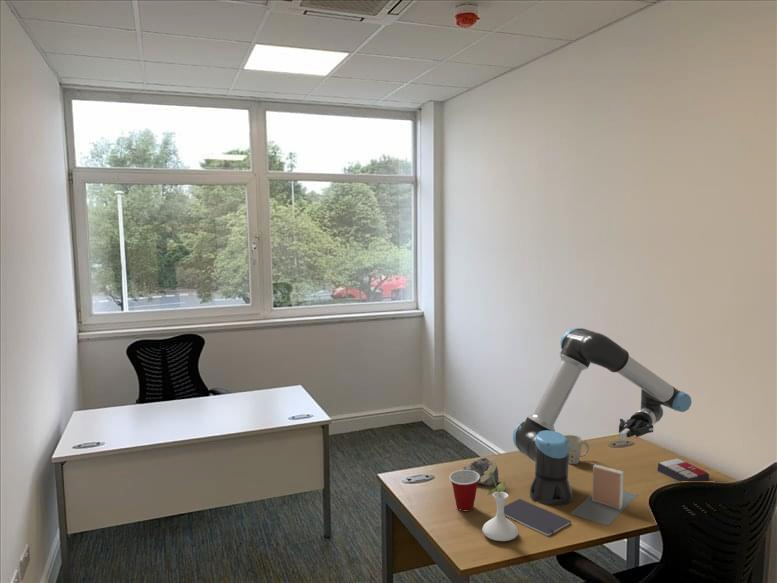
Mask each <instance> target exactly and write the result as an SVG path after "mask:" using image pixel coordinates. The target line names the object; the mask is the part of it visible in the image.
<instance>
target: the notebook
mask: <svg viewBox="0 0 777 583" xmlns="http://www.w3.org/2000/svg"><path fill="white" fill-rule="evenodd" d="M504 515H505V517H506V516H507V518H508V517H509V518H508V519H510V518H512V519H513V520H512V519H511V520H512V521H514V520H516V521H517V522H516V521H515V522H516V523H519V522H520V523H519V524H521V525H523V526H525V527H527V528H530V529H531V530H533V531H535V532H538V533H540V534H542V535H544V536H546V537H547V536H548V537H549V536H551V535H553V534H554V533H557V532H558V531H560V530H561V529H563V528H565V527H566V526H568V525H571V523H572V521H571V520H570V519H567V518H565V517H563V516H560V515H558V514H556V513H554V512H552V511H550V510H547V509H544V508H542V507H541V506H538V505H535V504H533V503H530V502H529V501H526V500H523V499H522V498H518V499H516V500H514V501H511V502H510V503H508V504H505V505H504Z"/></svg>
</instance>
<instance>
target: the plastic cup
mask: <svg viewBox="0 0 777 583" xmlns="http://www.w3.org/2000/svg"><path fill="white" fill-rule="evenodd" d="M448 478H449V480H450V482H451V485H452V490H453V495H454V499H455V504H456V505H455V506H456V508H457V510H459V509H461V510H471V509H472V508H473V509H474V505H475V504H474V503H475V500H476V495H477V489H478V488H477V487H478V484H479V483H478V481H479V478H480V475H479V474H478V473H477V472H475V471H471V470H464V469H461V470H455V471H452V472H451V474H449V477H448ZM473 509H472V510H473ZM461 510H460V511H461ZM472 510H471V511H472Z"/></svg>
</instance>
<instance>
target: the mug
mask: <svg viewBox="0 0 777 583" xmlns="http://www.w3.org/2000/svg"><path fill="white" fill-rule="evenodd" d="M564 436H565V437H566V438H567V440H568V444H569V458H568V465H569V464H570V465H577V464H579V463H580V458H583V457H585V456H586V455H587V454H588V453H589V451H590V444H589V442H588V441H586V440H583V438H581V437H580V436H578V435H574V434H567V435H566V434H565V435H564ZM583 445H585V446H586V450H585V451H584V453H583V454H581V451H582V446H583Z"/></svg>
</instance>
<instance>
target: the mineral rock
mask: <svg viewBox="0 0 777 583" xmlns="http://www.w3.org/2000/svg"><path fill="white" fill-rule="evenodd" d="M494 462H495V461H492V460H489V458H487V457H482V458H479V459H477V460H475V461H472V462H471V463H470V464H469V465H465V466H464V467H463V469H462V470H471V471H475V472H477V473H478V474H479V475H480V478H481V477H482V476H483V475H485V474H484V472H485V471H487V470H488V468H489V466H490V465H493V463H494ZM496 463H497V462H495V464H496ZM492 475H493V478H494V480H495V483H496V485H497V484H498V483H499V469H498V466H497V467H496V469H495V471H494V472H493V474H492ZM480 478H479V481H478V484H481V485H485V486H490V485H493V486H492V487H494V485H495V483H494V480H493V478H492V476H490V477H489V478H488V479H487V480H486V481H484V482H480V481H481V479H480Z"/></svg>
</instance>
